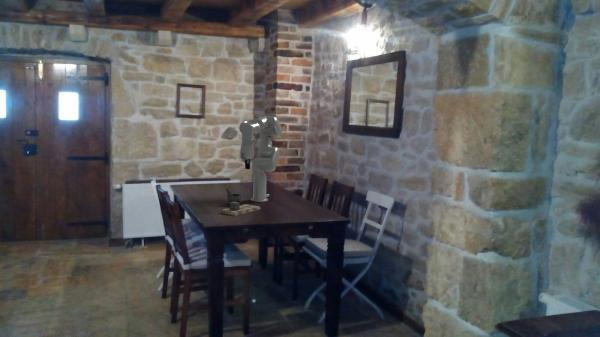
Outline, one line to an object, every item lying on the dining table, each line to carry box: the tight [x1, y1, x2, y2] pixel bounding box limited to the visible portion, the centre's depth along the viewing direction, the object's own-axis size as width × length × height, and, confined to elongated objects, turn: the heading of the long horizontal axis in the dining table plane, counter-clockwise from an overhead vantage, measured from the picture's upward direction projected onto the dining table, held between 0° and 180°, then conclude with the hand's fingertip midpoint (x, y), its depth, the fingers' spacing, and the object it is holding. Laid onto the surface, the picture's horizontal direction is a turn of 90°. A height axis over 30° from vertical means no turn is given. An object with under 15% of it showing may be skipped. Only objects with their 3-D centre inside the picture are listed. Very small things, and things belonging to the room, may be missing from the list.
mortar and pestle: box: [225, 187, 242, 203], centre depth 337 cm, size 11×9×12 cm
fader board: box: [220, 203, 261, 216], centre depth 317 cm, size 26×12×2 cm, turn 147°
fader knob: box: [229, 201, 241, 210], centre depth 311 cm, size 4×5×4 cm
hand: (247, 168), depth 329 cm, fingers closed
